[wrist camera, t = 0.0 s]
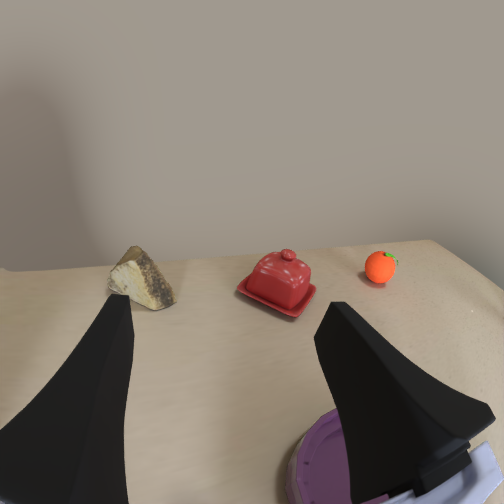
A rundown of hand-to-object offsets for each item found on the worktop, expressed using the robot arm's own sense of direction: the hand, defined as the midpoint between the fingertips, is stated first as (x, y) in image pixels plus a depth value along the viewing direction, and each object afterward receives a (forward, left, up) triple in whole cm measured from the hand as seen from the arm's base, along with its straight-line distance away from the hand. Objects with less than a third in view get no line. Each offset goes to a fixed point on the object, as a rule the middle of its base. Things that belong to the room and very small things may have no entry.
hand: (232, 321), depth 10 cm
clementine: (+36, -40, -22) cm, 58 cm away
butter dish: (+31, -15, -22) cm, 41 cm away
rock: (+29, +8, -22) cm, 37 cm away
